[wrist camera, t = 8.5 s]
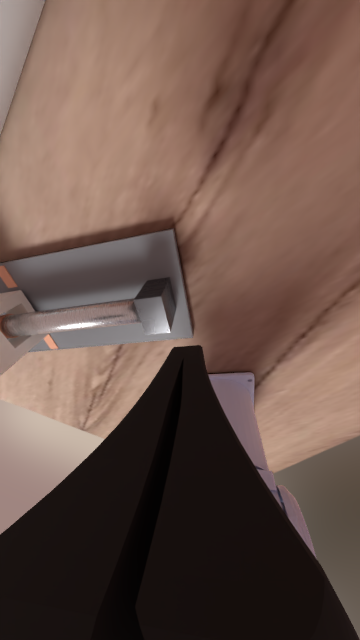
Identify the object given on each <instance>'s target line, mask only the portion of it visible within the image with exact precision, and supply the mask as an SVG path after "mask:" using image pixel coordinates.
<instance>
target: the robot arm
mask: <svg viewBox="0 0 360 640" xmlns="http://www.w3.org/2000/svg"><path fill="white" fill-rule="evenodd" d="M249 379H250V380H249ZM0 640H359V637H358V635H357V633H356V631H355V629H354V627H353V625H352V623H351V621H350V619H349V617H348V615H347V613H346V612H345V610H344V608H343V606H342V604H341V602H340V600H339V598H338V597H337V595H336V593H335V591H334V589H333V587H332V585H331V584H330V581H329V580H328V578H327V576H326V574H325V572H324V570H323V568H322V567H321V565H320V564H319V562H318V561H317V558H316V555H315V551H314V548H313V545H312V541H311V538H310V535H309V532H308V529H307V526H306V523H305V520H304V517H303V515H302V513H301V510H300V507H299V506H298V503H297V501H296V499H295V497H294V496H293V495H292V494H291V493H290V492H289V491H288V490H287V489H286V488H285V487H284V486H283V485H277V486H276V485H275V481H274V477H273V472H272V471H269V469H268V465H267V461H266V457H265V453H264V449H263V445H262V441H261V437H260V432H259V428H258V424H257V420H256V416H255V412H254V374H253V373H251V372H246V373H227V374H208V373H207V370H206V367H205V361H204V355H203V349H202V347H201V346H200V345H196V346H184V347H174V348H173V349H172V350H171V352H170V354H169V355H168V357H167V359H166V360H165V362H164V364H163V365H162V367H161V368H160V370H159V372H158V373H157V375H156V376H155V378H154V379H153V381H152V382H151V384H150V385H149V387H148V388H147V389H146V391H145V392H144V393H143V395H142V396H141V397H140V399H139V400H138V401H137V403H136V404H135V405H134V407H133V408H132V409H131V410H130V412H129V413H128V414H127V415H126V416H125V418H124V419H123V420H122V421H121V422H120V423H119V425H118V426H117V427H116V428H115V429H114V430H113V431H112V432H111V433H110V434H109V435H108V437H107V438H106V439H105V440H104V441H103V442H102V443H101V444H100V445H99V446H98V447H97V448H96V449H95V450H94V451H93V452H92V453H91V454H90V455H89V456H88V457H87V458H86V459H85V460H84V461H83V462H82V463H81V464H80V465H79V466H78V467H77V468H76V469H75V470H74V471H73V472H71V473H70V474H69V475H68V476H67V477H66V478H65V479H64V480H63V481H62V482H61V483H60V484H59V485H58V486H56V487H55V488H54V489H53V490H52V491H51V492H50V493H49V494H47V495H46V496H45V497H44V498H43V499H42V500H40V501H39V502H38V503H37V504H36V505H35V506H34V507H32V508H31V509H30V510H29V511H28V512H27V513H25V514H24V515H23V516H22V517H21V518H19V519H18V520H17V521H16V522H15V523H14V524H13V525H11V526H10V527H9V528H8V529H7V530H5V531H4V532H3V533H2V534H1V535H0Z"/></svg>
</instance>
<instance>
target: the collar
mask: <svg viewBox="0 0 360 640" xmlns="http://www.w3.org/2000/svg"><path fill="white" fill-rule="evenodd" d="M28 312H35V310H34V309H33V307H32V306H31V304H30V303H29V301H28V300H27V298H26V297H25V295H24V294H23V292H22V291H21V290H18V291H12V292H5V293H0V315H1V314H3V313H6V314H21V313H28ZM48 334H49V333H44V334H35V335H26V336H18V337H16V338H10V339H8V340H7V338H6V337H5V336H4V335H3V333H2V332H1V331H0V376H1V375H2V374H3V373H4V372H6V371H7V370H8V369H9V368H10V367H11V366H12V365H14V364H15V363H16V362H17V361H18V360H19V359H20V358H22V357H23V356H24V355H25V354H26V353H27V352H28V351H30V350H31V349H32V348H33V347H34V346H35V345H37V344H38V343H39V342H40V341H41V340H42V339H43V338H45V337H46V336H47V335H48Z"/></svg>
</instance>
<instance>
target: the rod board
mask: <svg viewBox="0 0 360 640" xmlns="http://www.w3.org/2000/svg"><path fill="white" fill-rule="evenodd" d="M18 290H21V291H22V292H23V294H24V295H25V297H26V298H27V300H28V301H29V303H30V304H31V306H32V307H33V309H34V310H35V312H28V313H21V314H6V313H3V314H1V315H0V331H1V332H2V333H3V335H4V336H5V337H6V338H7V340H8V339H10V338H16V337H18V336H26V335H35V334H44V333H49V334H48V335H47V336H46V337H45V338H43V339H42V340H41V341H40V342H39V343H38V344H37V345H35V346H34V347H33V348H32V349H31V350H30V351H28V352H36V351H47V350H59V349H70V348H81V347H92V346H104V345H115V344H126V343H137V342H149V341H160V340H171V339H182V338H193V328H192V323H191V318H190V312H189V307H188V301H187V296H186V291H185V285H184V280H183V275H182V269H181V264H180V258H179V253H178V248H177V242H176V237H175V232H174V228H173V229H168V230H163V231H158V232H153V233H147V234H142V235H137V236H132V237H127V238H122V239H117V240H112V241H107V242H102V243H97V244H92V245H87V246H82V247H77V248H72V249H67V250H62V251H57V252H52V253H47V254H42V255H37V256H32V257H27V258H22V259H17V260H12V261H7V262H2V263H0V293H5V292H12V291H18Z"/></svg>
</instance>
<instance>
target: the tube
mask: <svg viewBox="0 0 360 640" xmlns="http://www.w3.org/2000/svg"><path fill="white" fill-rule="evenodd" d="M44 3H45V0H0V135H1V132H2V129H3V126H4V123H5V120H6V117H7V114H8V111H9V108H10V105H11V102H12V99H13V96H14V93H15V90H16V87H17V84H18V81H19V78H20V75H21V72H22V69H23V66H24V63H25V60H26V57H27V54H28V51H29V48H30V45H31V42H32V39H33V36H34V33H35V30H36V27H37V24H38V21H39V18H40V15H41V12H42V9H43V6H44Z"/></svg>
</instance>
